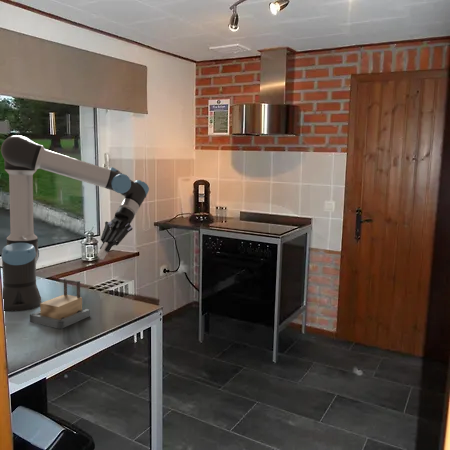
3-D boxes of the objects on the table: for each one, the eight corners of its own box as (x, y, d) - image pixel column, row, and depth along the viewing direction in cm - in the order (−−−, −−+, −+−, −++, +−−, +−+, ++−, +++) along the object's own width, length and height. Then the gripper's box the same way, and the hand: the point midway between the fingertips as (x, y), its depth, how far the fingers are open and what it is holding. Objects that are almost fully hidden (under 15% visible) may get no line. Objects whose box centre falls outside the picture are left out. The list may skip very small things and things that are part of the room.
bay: (30, 321, 159) (29, 314, 159) (60, 309, 172) (60, 303, 172) (60, 329, 154) (60, 322, 153) (89, 316, 167) (89, 309, 166)
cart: (39, 322, 160) (38, 286, 158) (63, 311, 171) (63, 278, 169) (60, 326, 156) (59, 290, 154) (83, 316, 167) (83, 281, 165)
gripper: (143, 218, 192) (117, 265, 180) (118, 215, 197) (91, 260, 185) (135, 207, 187) (109, 254, 174) (110, 204, 192) (82, 249, 179)
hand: (100, 257), depth 179 cm, fingers closed
